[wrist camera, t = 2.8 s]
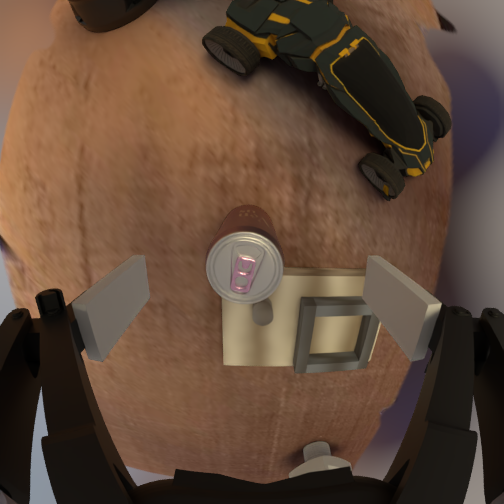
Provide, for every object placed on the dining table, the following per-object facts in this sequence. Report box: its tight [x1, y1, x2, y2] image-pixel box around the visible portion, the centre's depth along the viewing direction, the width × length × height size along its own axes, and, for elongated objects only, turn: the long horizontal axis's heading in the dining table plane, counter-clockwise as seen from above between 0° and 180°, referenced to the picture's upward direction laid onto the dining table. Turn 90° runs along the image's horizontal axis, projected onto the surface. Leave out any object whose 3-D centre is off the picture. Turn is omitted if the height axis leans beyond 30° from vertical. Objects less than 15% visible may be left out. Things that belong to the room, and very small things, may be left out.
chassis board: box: [222, 267, 381, 373], centre depth 34 cm, size 22×14×6 cm, turn 88°
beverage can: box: [206, 205, 284, 304], centre depth 27 cm, size 6×6×15 cm
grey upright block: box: [289, 441, 352, 478], centre depth 38 cm, size 9×9×20 cm
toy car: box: [202, 0, 452, 201], centre depth 24 cm, size 16×32×10 cm, turn 49°
